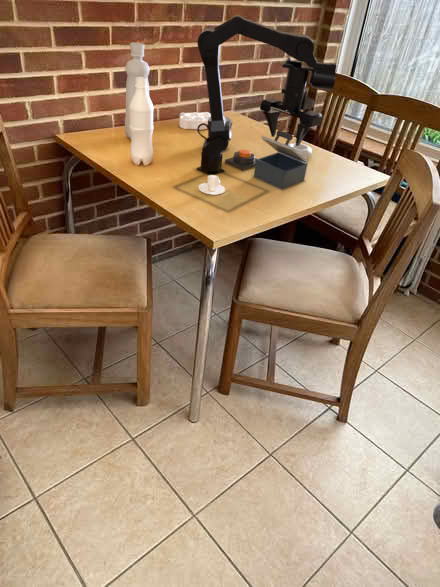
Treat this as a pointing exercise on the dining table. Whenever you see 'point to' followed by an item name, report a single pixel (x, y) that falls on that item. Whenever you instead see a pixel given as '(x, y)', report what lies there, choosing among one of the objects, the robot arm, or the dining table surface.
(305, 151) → the donut
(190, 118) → the white egg tray
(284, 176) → the dark grey case
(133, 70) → the bottle
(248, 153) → the button
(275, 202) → the dining table surface
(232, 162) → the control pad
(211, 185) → the teacup and saucer
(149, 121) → the water bottle
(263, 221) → the dining table surface
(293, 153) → the grey box lid
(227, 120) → the coffee mug
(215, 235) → the dining table surface
